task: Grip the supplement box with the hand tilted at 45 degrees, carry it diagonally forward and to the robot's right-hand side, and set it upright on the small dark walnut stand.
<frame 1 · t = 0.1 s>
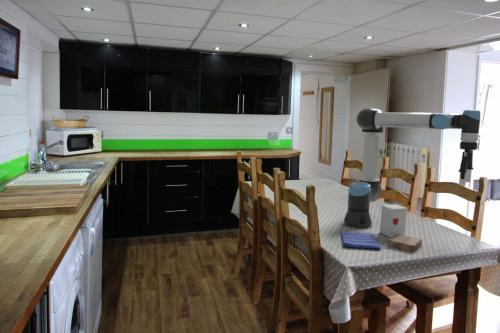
hand: (464, 183, 193), 28 cm above the table, tool pointing down, fingers open, 13 cm apart
supplement box: (392, 234, 201), on the table
walnut stand: (404, 245, 184), on the table
dish towel: (359, 242, 189), on the table
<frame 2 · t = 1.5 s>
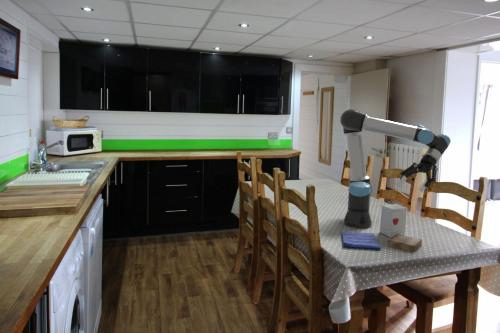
hand: (409, 188, 202), 23 cm above the table, tool tilted 45°, fingers open, 13 cm apart
nothing on the table moved.
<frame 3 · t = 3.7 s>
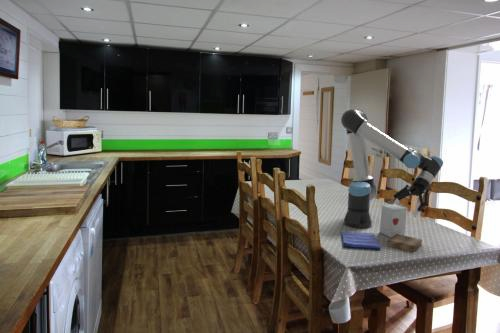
hand: (402, 212, 200), 12 cm above the table, tool tilted 45°, fingers open, 13 cm apart
nothing on the table moved.
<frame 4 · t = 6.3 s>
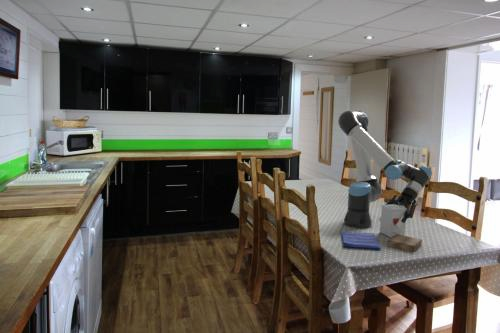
hand: (388, 223, 198), 6 cm above the table, tool tilted 45°, fingers closed on supplement box, 10 cm apart
supplement box: (392, 234, 200), on the table, touching gripper
everything else where it was.
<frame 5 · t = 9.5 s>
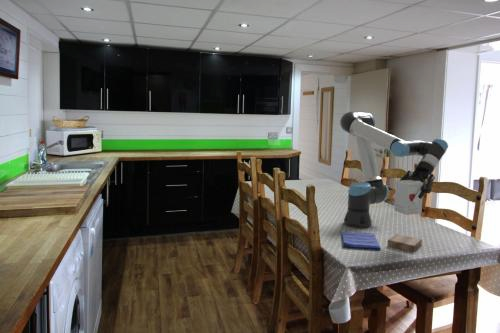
hand: (404, 200, 183), 21 cm above the table, tool tilted 45°, fingers closed on supplement box, 10 cm apart
supplement box: (407, 212, 185), point 15 cm above the table, touching gripper
everything else where it was.
when the fingers open (10 cm above the table, at t = 12.8 s): supplement box drops 1 cm, resting on walnut stand.
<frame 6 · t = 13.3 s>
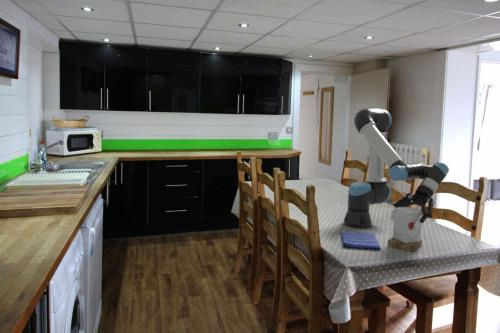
hand: (403, 223, 181), 11 cm above the table, tool tilted 45°, fingers open, 13 cm apart
supplement box: (406, 240, 183), point 3 cm above the table, touching walnut stand
everything else where it was.
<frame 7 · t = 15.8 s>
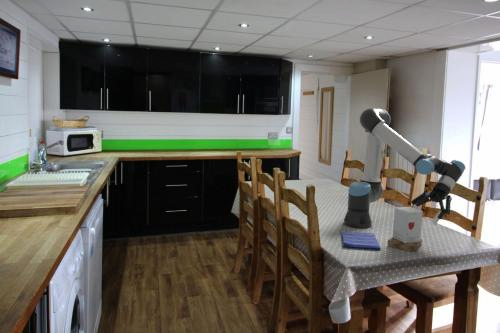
hand: (421, 219, 187), 11 cm above the table, tool tilted 45°, fingers open, 13 cm apart
nothing on the table moved.
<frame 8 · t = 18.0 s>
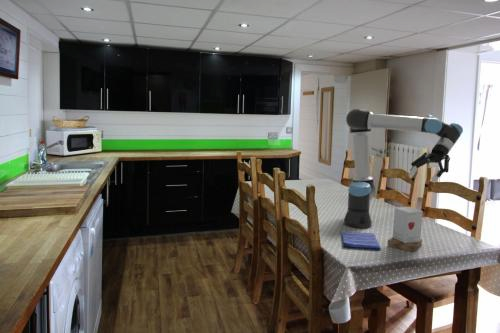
hand: (420, 178, 195), 30 cm above the table, tool tilted 45°, fingers open, 13 cm apart
nothing on the table moved.
at the end: supplement box 0.5 cm from the walnut stand (horizontally); supplement box point 2.8 cm above the table; supplement box tilted 0° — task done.
